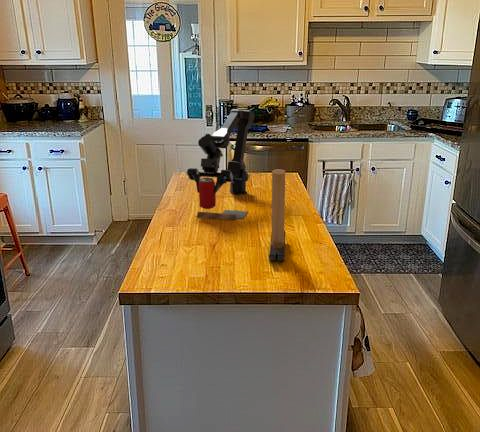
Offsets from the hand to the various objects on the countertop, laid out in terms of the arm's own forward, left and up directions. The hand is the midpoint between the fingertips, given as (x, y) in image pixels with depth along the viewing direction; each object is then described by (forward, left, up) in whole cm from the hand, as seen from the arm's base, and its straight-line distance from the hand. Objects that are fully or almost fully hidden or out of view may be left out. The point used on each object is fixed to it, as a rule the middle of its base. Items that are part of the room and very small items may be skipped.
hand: (206, 192), depth 196 cm
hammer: (-6, +48, -10) cm, 49 cm away
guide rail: (-1, +7, -9) cm, 11 cm away
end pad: (-9, +6, -9) cm, 15 cm away
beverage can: (-1, -1, -7) cm, 7 cm away
